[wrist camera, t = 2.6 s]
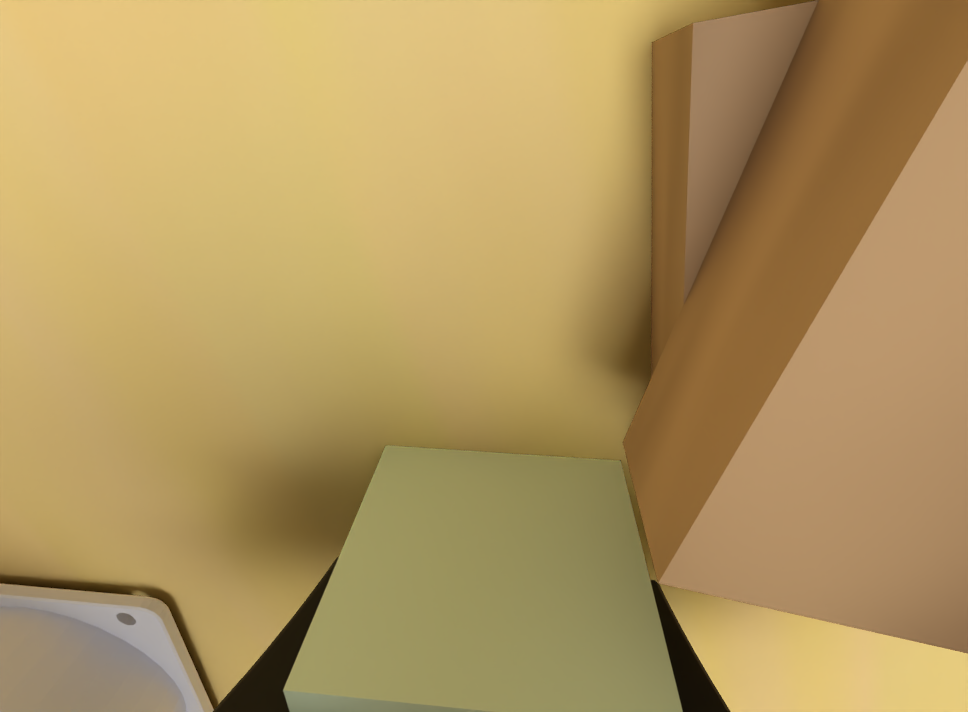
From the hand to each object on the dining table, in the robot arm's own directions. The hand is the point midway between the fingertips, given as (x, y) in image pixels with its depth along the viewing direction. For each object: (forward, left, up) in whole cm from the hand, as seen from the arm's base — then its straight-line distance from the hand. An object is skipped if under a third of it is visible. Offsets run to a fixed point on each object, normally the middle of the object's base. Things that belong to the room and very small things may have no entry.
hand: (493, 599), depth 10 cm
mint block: (0, 0, -2) cm, 2 cm away
